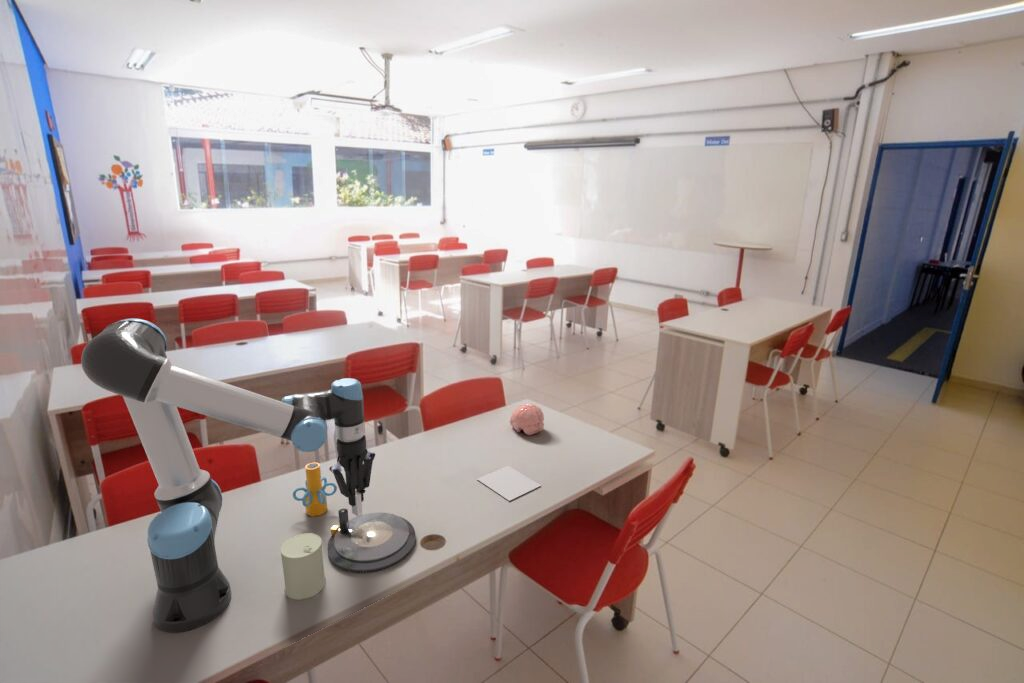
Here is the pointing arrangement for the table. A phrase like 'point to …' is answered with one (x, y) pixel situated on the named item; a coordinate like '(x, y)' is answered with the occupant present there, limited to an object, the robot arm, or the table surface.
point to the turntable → (370, 536)
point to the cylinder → (314, 491)
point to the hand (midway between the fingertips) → (357, 513)
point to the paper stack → (508, 482)
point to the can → (303, 566)
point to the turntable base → (372, 566)
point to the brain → (527, 419)
